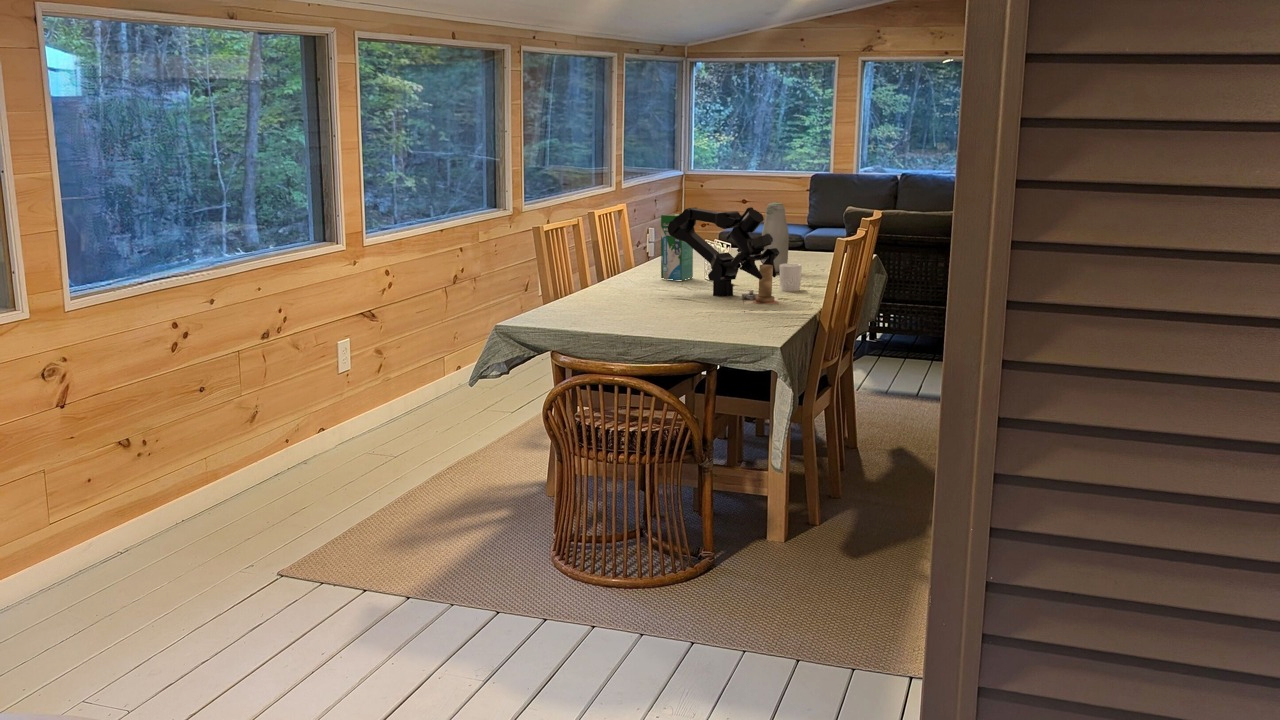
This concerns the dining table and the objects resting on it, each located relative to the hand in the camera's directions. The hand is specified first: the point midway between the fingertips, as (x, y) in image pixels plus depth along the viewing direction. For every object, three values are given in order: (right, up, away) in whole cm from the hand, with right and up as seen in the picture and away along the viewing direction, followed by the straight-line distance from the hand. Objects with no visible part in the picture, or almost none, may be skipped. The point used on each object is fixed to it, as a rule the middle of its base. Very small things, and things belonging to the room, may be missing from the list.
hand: (768, 277), depth 375 cm
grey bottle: (+11, +7, +74) cm, 75 cm away
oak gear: (-1, -8, +3) cm, 8 cm away
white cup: (+11, -4, +27) cm, 29 cm away
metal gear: (-5, -7, +9) cm, 12 cm away
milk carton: (-29, +4, +60) cm, 66 cm away
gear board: (-2, -8, +6) cm, 10 cm away
